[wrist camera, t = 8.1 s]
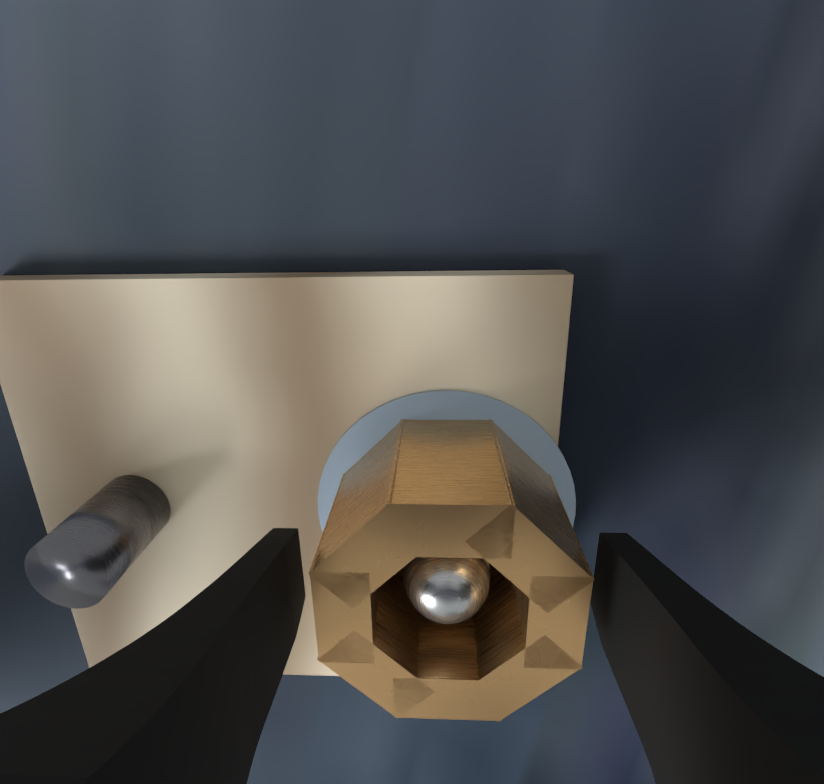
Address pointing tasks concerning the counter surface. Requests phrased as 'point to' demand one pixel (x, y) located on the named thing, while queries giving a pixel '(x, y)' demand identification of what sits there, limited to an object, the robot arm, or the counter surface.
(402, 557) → the bronze ring
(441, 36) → the counter surface
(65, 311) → the maple board
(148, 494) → the stand rod
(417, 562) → the steel hub
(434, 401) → the hub pad
